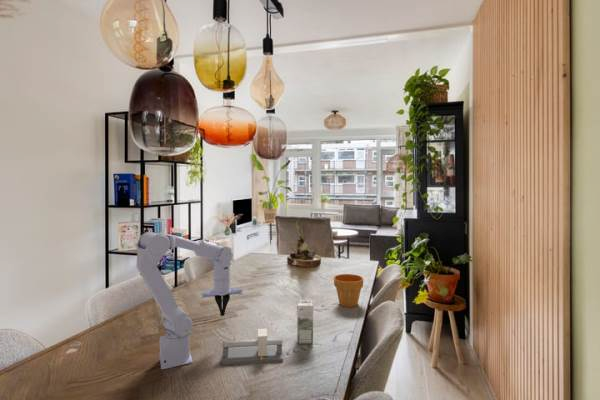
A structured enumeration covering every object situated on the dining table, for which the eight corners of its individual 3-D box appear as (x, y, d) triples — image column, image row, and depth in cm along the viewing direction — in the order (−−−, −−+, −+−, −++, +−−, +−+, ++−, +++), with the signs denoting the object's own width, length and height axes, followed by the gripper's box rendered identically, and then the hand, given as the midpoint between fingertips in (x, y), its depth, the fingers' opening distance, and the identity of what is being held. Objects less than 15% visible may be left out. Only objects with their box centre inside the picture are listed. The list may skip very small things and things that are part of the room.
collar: (258, 356, 109) (257, 336, 109) (258, 347, 115) (258, 328, 115) (267, 355, 109) (266, 336, 109) (267, 347, 115) (267, 328, 115)
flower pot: (363, 310, 153) (363, 282, 153) (332, 308, 156) (332, 281, 156) (363, 300, 167) (363, 274, 167) (335, 298, 170) (335, 273, 170)
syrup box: (312, 337, 126) (312, 299, 126) (313, 344, 120) (313, 305, 120) (297, 337, 126) (297, 299, 125) (297, 344, 120) (297, 305, 119)
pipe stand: (221, 365, 106) (220, 348, 106) (224, 351, 115) (224, 335, 115) (283, 361, 108) (282, 344, 108) (281, 348, 117) (281, 332, 117)
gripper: (201, 283, 115) (201, 321, 116) (243, 279, 119) (243, 316, 120) (201, 277, 122) (201, 314, 122) (240, 274, 126) (241, 309, 126)
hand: (222, 314), depth 121 cm, fingers closed
